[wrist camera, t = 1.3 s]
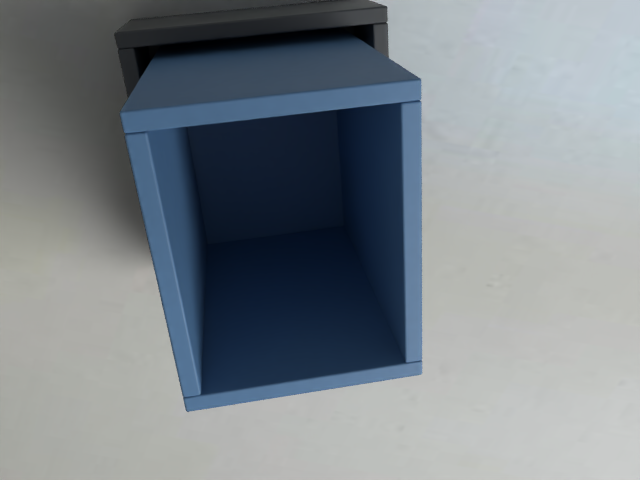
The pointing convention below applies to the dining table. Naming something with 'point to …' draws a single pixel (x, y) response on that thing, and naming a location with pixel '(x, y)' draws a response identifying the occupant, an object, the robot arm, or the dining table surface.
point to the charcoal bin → (246, 28)
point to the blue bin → (281, 212)
